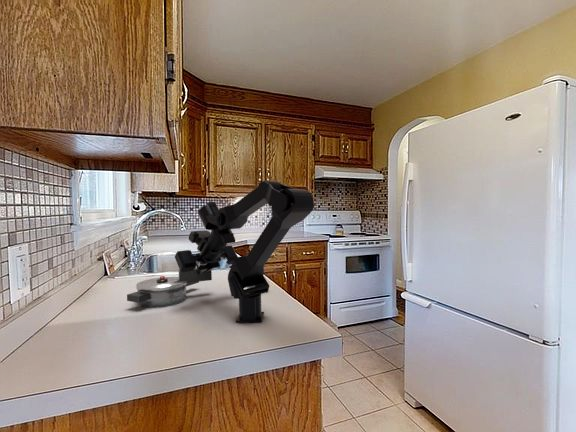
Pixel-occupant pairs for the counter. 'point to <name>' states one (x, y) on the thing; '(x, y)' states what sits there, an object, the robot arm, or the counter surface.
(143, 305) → the grey round flat pan
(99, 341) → the counter surface
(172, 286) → the lid
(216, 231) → the robot arm
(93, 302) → the counter surface
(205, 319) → the counter surface
